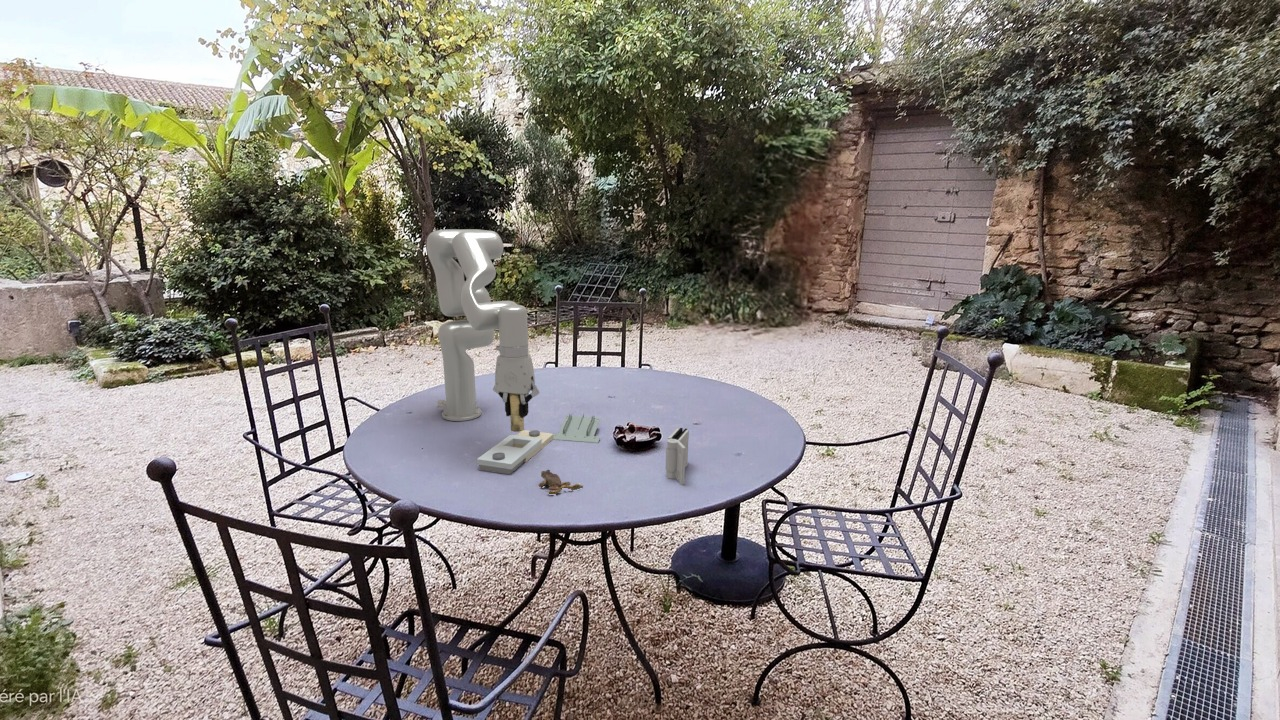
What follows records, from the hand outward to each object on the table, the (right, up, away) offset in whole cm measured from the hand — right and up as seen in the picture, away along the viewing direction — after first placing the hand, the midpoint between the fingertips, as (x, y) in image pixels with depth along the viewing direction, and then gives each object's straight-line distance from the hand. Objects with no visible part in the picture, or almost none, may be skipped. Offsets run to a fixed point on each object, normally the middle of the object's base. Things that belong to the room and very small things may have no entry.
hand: (517, 415), depth 162 cm
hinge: (+44, -15, -7) cm, 47 cm away
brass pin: (0, -4, +1) cm, 4 cm away
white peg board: (0, -11, +3) cm, 11 cm away
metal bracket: (+15, -8, +18) cm, 25 cm away
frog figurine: (+13, -17, -16) cm, 27 cm away
